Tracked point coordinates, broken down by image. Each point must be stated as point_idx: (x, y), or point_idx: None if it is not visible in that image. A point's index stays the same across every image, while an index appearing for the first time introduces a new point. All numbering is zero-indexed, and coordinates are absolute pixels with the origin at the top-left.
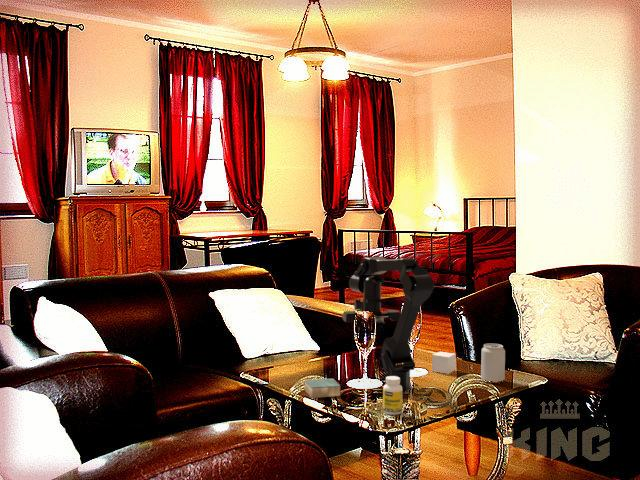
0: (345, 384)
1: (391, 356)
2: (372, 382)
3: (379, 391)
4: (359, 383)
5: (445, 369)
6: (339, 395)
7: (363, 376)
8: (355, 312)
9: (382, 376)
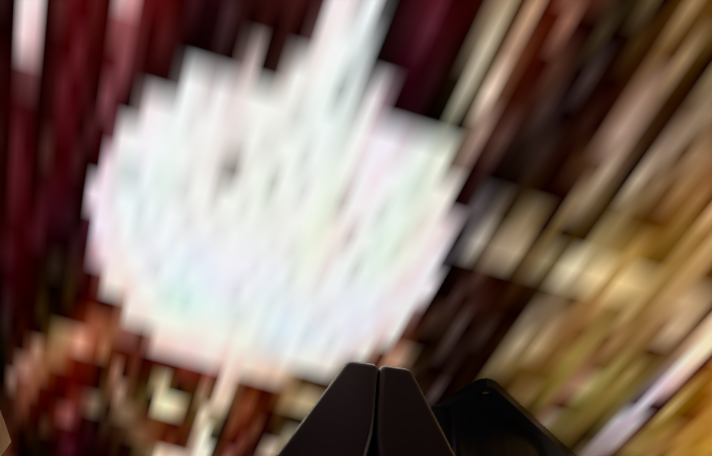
0: (78, 227)
1: None
2: (346, 245)
3: None
4: (214, 237)
5: None
6: (5, 442)
7: (332, 11)
8: None
9: (550, 78)
